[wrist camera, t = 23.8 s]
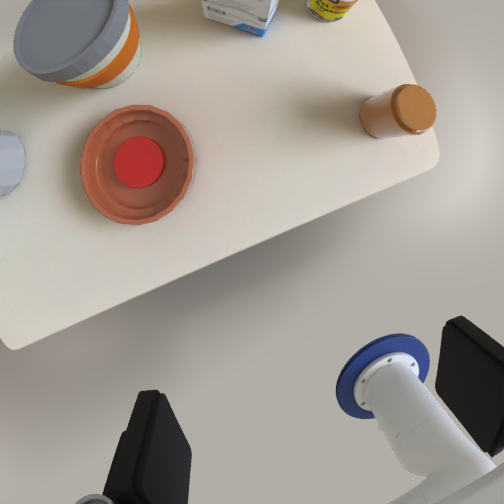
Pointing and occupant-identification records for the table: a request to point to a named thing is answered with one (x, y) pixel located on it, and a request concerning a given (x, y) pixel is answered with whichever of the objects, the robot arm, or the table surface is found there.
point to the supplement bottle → (329, 9)
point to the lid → (139, 162)
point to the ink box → (242, 13)
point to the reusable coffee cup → (78, 42)
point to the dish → (147, 198)
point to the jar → (10, 162)
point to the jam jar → (398, 112)
